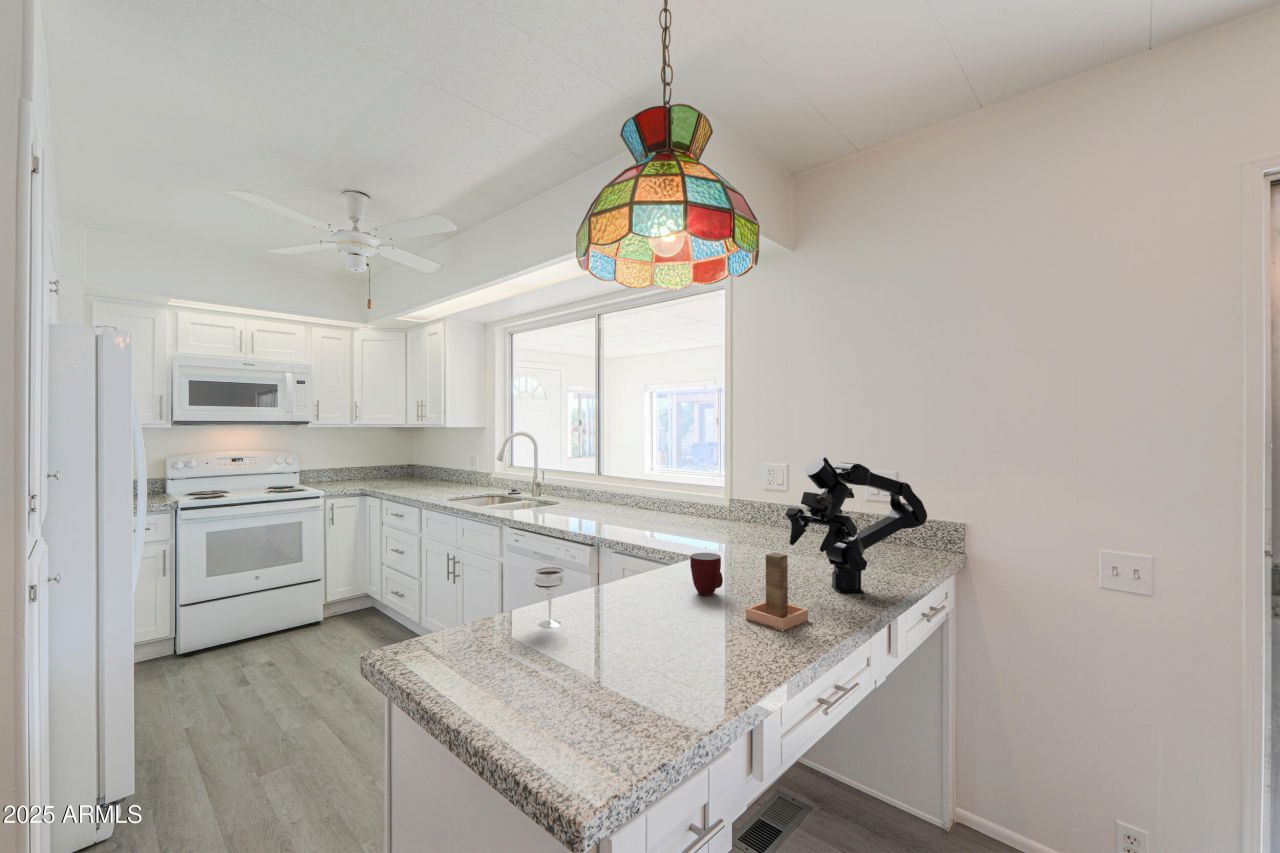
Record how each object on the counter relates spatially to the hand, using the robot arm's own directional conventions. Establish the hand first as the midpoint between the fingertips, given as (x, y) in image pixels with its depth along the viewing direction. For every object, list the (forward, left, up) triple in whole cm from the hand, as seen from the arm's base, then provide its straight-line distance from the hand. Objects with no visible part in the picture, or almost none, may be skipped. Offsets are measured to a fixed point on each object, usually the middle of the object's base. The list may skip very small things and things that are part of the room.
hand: (805, 547), depth 139 cm
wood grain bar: (+11, +13, -13) cm, 22 cm away
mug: (+24, -6, -14) cm, 28 cm away
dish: (+11, +13, -14) cm, 22 cm away
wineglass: (+63, +14, -14) cm, 66 cm away
